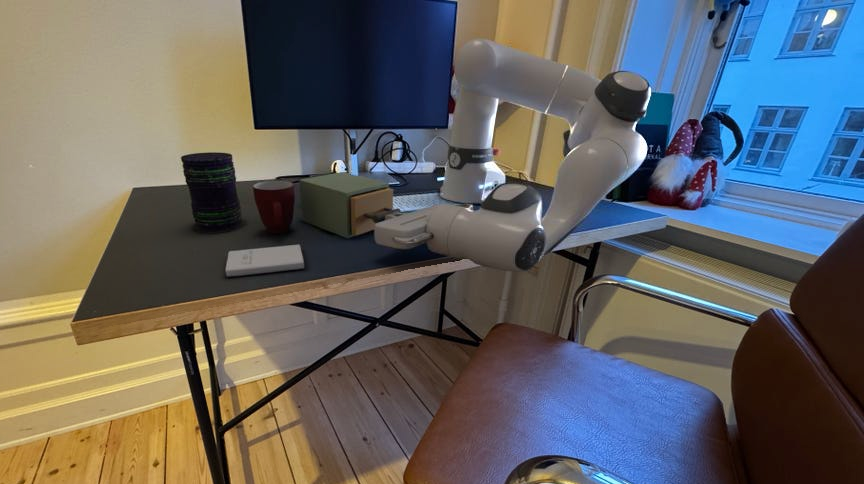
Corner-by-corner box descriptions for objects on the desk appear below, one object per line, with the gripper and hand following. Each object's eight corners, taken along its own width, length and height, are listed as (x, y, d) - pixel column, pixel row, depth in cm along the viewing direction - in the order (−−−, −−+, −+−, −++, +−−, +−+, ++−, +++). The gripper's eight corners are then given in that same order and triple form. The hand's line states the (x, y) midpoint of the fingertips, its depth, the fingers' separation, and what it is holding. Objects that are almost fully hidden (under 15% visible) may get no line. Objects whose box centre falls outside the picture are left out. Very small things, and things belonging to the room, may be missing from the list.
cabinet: (388, 224, 84) (389, 182, 80) (347, 238, 76) (346, 192, 72) (343, 209, 94) (341, 171, 90) (302, 220, 85) (299, 179, 81)
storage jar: (185, 227, 80) (169, 157, 73) (222, 215, 88) (210, 150, 81) (217, 236, 76) (202, 162, 69) (252, 222, 84) (243, 155, 77)
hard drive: (304, 270, 63) (226, 278, 59) (300, 251, 70) (230, 257, 66) (303, 261, 62) (225, 269, 59) (299, 243, 69) (228, 249, 66)
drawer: (407, 227, 80) (408, 192, 76) (370, 241, 72) (370, 203, 69) (349, 209, 91) (348, 177, 88) (311, 219, 84) (309, 185, 80)
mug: (305, 238, 76) (301, 190, 71) (265, 244, 72) (258, 194, 68) (292, 223, 84) (288, 179, 80) (256, 227, 81) (249, 182, 76)
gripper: (410, 263, 60) (352, 245, 68) (474, 233, 74) (419, 221, 82) (411, 226, 57) (351, 212, 66) (476, 202, 71) (419, 193, 80)
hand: (389, 217), depth 74 cm, fingers closed
